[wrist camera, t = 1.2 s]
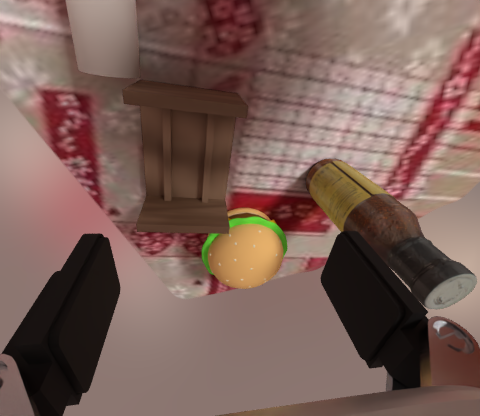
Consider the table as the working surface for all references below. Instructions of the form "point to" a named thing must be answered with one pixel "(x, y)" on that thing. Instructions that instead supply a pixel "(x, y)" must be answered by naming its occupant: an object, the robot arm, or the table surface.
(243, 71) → the table surface
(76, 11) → the roll
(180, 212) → the holder
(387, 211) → the sauce bottle
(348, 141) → the table surface
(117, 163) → the table surface
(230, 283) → the hamburger
